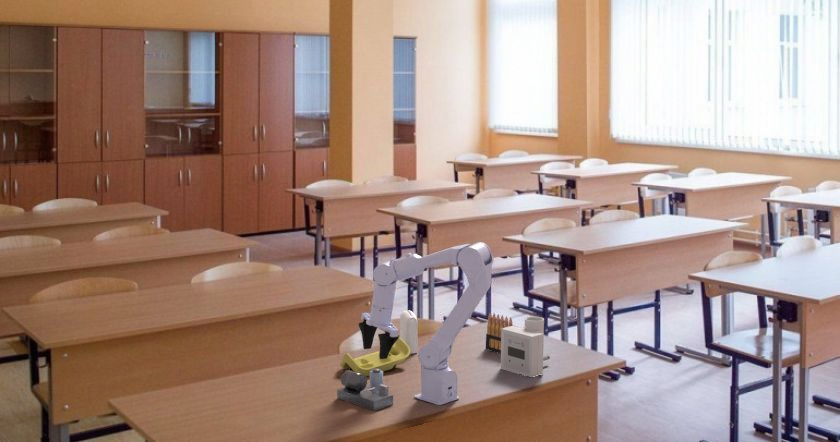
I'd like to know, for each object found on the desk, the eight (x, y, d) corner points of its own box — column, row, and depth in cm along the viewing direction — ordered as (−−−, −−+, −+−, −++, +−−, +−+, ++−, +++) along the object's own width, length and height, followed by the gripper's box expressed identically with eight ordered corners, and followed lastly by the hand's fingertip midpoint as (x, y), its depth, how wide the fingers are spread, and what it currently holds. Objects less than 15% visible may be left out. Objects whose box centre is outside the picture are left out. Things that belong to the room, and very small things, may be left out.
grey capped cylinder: (385, 391, 269) (385, 369, 268) (376, 394, 267) (376, 372, 266) (376, 388, 272) (376, 366, 271) (367, 391, 269) (367, 369, 268)
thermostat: (500, 368, 291) (501, 319, 289) (532, 360, 300) (534, 311, 298) (531, 378, 282) (532, 327, 280) (563, 369, 291) (565, 319, 289)
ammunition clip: (485, 349, 312) (485, 312, 310) (489, 348, 313) (490, 311, 311) (510, 356, 304) (510, 318, 302) (514, 355, 305) (515, 317, 303)
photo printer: (398, 345, 315) (398, 307, 313) (411, 345, 316) (412, 307, 314) (405, 354, 305) (405, 315, 303) (418, 353, 306) (419, 314, 304)
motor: (393, 404, 258) (393, 378, 257) (373, 410, 253) (373, 384, 252) (354, 391, 269) (354, 367, 268) (334, 397, 264) (334, 372, 263)
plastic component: (362, 371, 280) (343, 349, 286) (357, 390, 284) (338, 369, 290) (416, 354, 292) (397, 334, 298) (411, 373, 296) (391, 352, 302)
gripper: (354, 298, 269) (348, 345, 271) (386, 315, 258) (378, 364, 261) (375, 296, 273) (369, 343, 276) (407, 313, 262) (399, 361, 265)
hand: (375, 353), depth 269 cm, fingers open, 7 cm apart
